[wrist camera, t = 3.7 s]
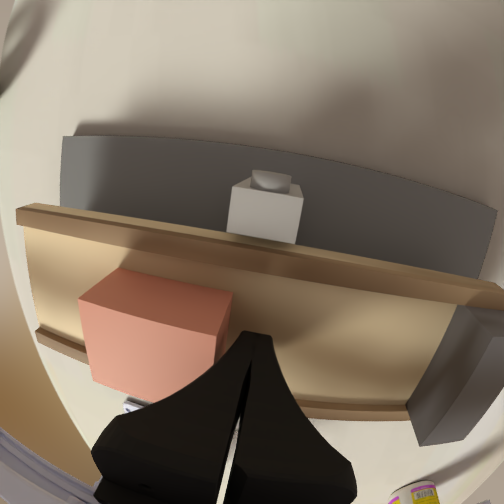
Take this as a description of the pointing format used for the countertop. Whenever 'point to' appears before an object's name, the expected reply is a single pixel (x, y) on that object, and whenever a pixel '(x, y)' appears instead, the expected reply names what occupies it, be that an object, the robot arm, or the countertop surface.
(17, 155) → the countertop surface
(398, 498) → the supplement bottle
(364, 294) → the beam
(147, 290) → the block
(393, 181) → the tilt stand
